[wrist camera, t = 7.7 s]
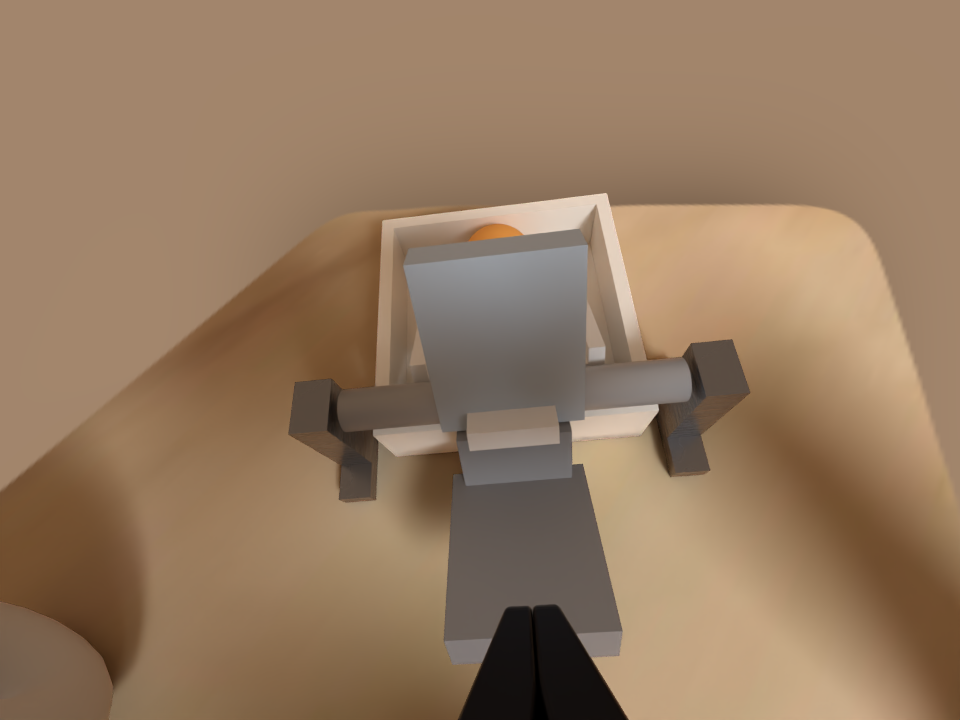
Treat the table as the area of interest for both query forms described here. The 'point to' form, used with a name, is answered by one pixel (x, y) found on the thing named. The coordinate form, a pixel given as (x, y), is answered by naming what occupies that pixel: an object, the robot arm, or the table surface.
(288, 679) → the table surface
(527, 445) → the lever
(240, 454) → the table surface
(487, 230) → the ball
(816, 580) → the table surface
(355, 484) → the stand
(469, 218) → the white storage bin
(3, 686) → the donut
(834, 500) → the table surface
